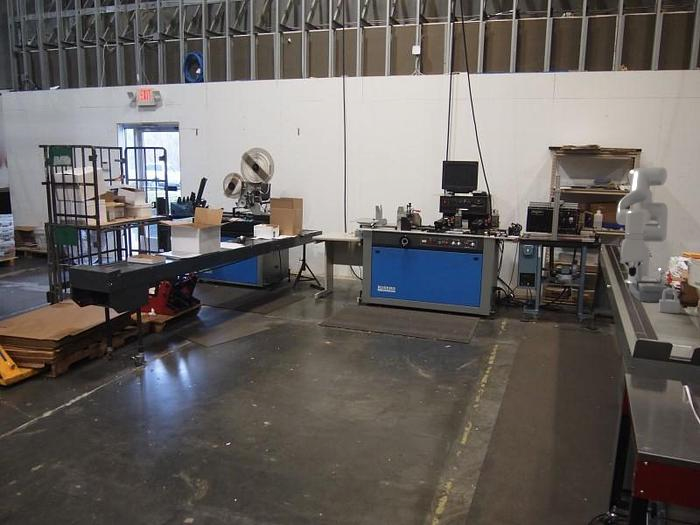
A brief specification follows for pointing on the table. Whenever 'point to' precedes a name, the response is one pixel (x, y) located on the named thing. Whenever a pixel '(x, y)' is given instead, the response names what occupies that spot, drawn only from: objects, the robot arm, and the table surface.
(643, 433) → the table surface
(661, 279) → the cable arm
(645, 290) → the chassis
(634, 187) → the robot arm
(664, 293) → the padlock
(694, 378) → the table surface
